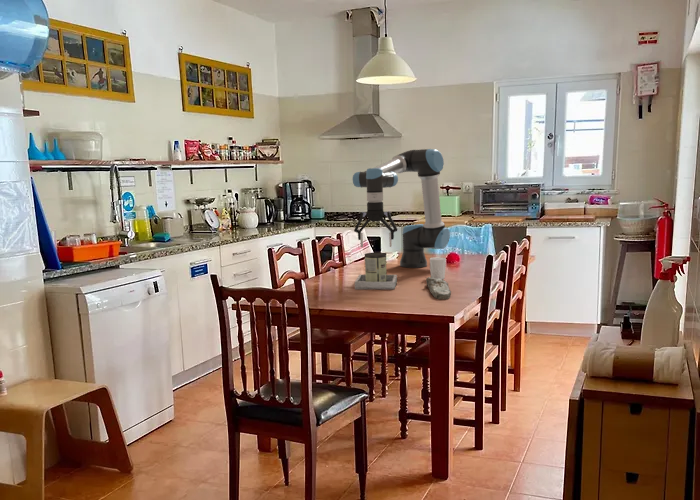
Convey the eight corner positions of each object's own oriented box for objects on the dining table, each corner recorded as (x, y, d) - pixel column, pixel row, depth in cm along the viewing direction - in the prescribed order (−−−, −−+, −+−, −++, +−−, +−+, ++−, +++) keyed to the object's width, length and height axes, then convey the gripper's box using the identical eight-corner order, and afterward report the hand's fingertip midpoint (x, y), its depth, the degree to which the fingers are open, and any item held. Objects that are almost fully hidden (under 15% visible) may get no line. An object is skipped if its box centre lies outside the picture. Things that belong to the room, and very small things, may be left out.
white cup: (445, 280, 293) (445, 259, 291) (429, 279, 294) (429, 259, 293) (446, 277, 300) (446, 257, 299) (430, 276, 302) (430, 257, 301)
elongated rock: (430, 303, 252) (454, 304, 251) (431, 291, 251) (455, 292, 250) (423, 282, 286) (444, 283, 286) (424, 272, 285) (445, 272, 285)
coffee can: (369, 280, 291) (369, 251, 289) (389, 281, 287) (389, 252, 285) (361, 284, 281) (361, 255, 279) (382, 285, 277) (382, 255, 275)
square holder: (359, 281, 294) (359, 274, 293) (396, 281, 291) (396, 274, 291) (354, 289, 276) (354, 281, 275) (394, 289, 273) (394, 282, 273)
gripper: (347, 202, 276) (348, 248, 279) (401, 201, 273) (402, 247, 276) (349, 201, 283) (350, 245, 287) (402, 200, 280) (403, 245, 283)
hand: (376, 246), depth 281 cm, fingers open, 13 cm apart
